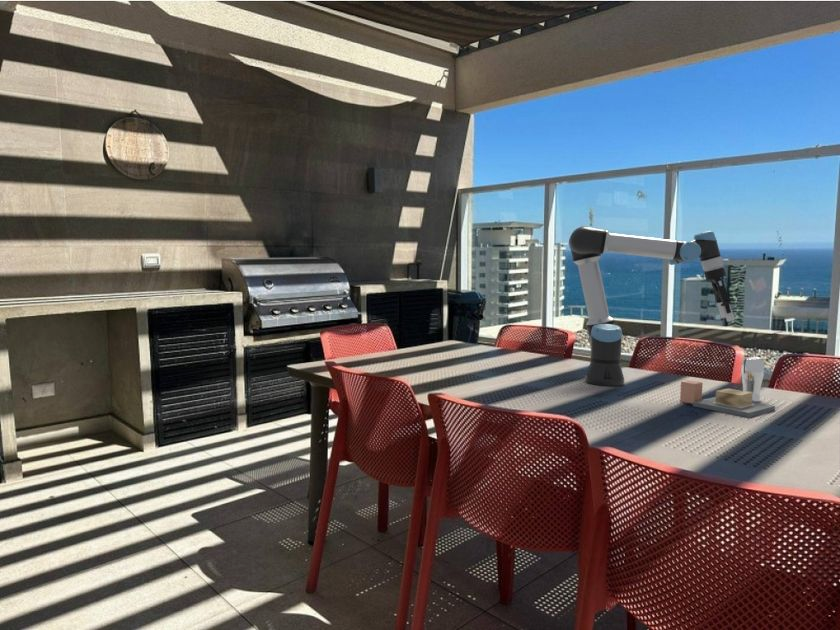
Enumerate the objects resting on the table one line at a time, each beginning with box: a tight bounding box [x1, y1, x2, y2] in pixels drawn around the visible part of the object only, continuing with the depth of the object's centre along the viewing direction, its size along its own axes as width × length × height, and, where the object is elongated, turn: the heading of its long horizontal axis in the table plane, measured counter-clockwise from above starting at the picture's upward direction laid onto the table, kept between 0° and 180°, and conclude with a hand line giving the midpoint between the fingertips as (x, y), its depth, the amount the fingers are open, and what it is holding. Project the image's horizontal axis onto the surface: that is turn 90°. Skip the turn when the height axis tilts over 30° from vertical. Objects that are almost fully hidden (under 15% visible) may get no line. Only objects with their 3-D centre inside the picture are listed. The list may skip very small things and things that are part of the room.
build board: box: [692, 396, 776, 419], centre depth 189 cm, size 18×18×2 cm
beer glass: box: [740, 356, 765, 403], centre depth 202 cm, size 7×7×15 cm
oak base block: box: [715, 388, 752, 407], centre depth 189 cm, size 8×8×4 cm
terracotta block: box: [679, 379, 703, 405], centre depth 198 cm, size 5×5×7 cm
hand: (727, 319), depth 231 cm, fingers open, 13 cm apart
